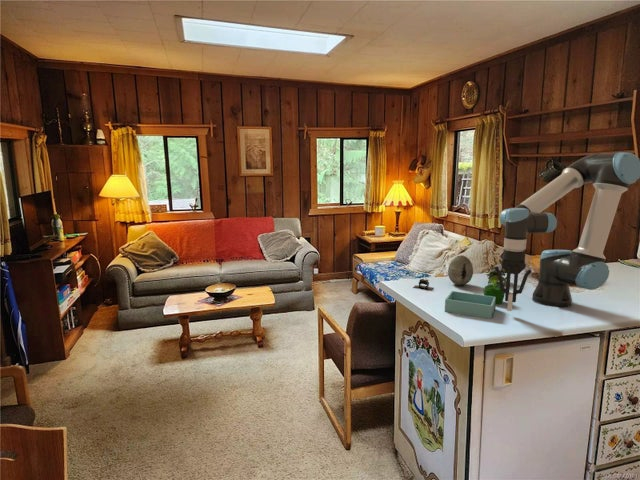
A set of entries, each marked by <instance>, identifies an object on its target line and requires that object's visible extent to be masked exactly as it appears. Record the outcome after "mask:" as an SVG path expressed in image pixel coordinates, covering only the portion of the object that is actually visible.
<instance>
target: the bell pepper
mask: <svg viewBox="0 0 640 480" xmlns="http://www.w3.org/2000/svg"><path fill="white" fill-rule="evenodd" d="M493 282H494V283H493V285H492V283H489V284H487V285H485V286H484V288H483V295H485V296H493V297H496V299H495V305H501V304H503V301H504V300H505V292H503V291H501V290H500V285H498V284H497V282H496V280H494V281H493Z"/></svg>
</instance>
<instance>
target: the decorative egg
mask: <svg viewBox="0 0 640 480" xmlns="http://www.w3.org/2000/svg"><path fill="white" fill-rule="evenodd" d="M447 275H448V278H449V280H450V281H451V282H452V283H453V284H454V285H457V286H465V285H467V284H469V282H471V280H472V278H473V275H474V267H473V263H472V261H471V260H470V259H469V257H468V256H466V255H463V254H462V255H461V254H460V255H457V256H455V257H453V259H452V260H451V262H450V263H449V266H448V268H447Z"/></svg>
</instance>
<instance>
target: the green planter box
mask: <svg viewBox="0 0 640 480" xmlns="http://www.w3.org/2000/svg"><path fill="white" fill-rule="evenodd" d="M495 299H496V297H493V296H485V295H484V294H477V293H471V292H470V293H469V292H464V291H463V292H462V291H454V290H451V291H450V292H449V294H448V295H447V296H446V298H445V302H444V313H445V312H448V313H453V314H459V315H464V316H465V315H466V316H469V317H472V316H473V317H476V318H477V317H478V318H482V319H490V320H491V319H492V318H493V317H494V312H495V310H496V304H495Z"/></svg>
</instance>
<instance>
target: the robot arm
mask: <svg viewBox="0 0 640 480" xmlns="http://www.w3.org/2000/svg"><path fill="white" fill-rule="evenodd" d="M639 179H640V158H639V157H638V156H637V155H636V154H634V153H632V152H622V151H619V152H604V153H600V152H599V153H598V152H597V153H592V154H588V155H586V156H584V157H581V158H580V159H577V160H576V161H575V162H573V163H572V164H570V165H568V166H567V167H565V168H564V169H563V170H562V172H561V174H560V175H559V176H557V177H556V178H554V179H553V180H552V181H550V182H549V183H548V184H546V185H545V186H543V187H542V188H540V189H539V190H538V191H536V192H535V193H533V194H532V195H531V196H529V197H527V198H526V199H525V200H524V201H522V202H521V203H520V204H518V205H516V206H515V207H510V208H505V209H503V210H502V211H501V213H500V215H499V222H500V224H501V225H502V226H504V238H503V248H504V249H503V251H502V252H503V253H502V261H501V263H499V264H495V265H496V266H495V265H494V266H495V270H496V272H497V274H498V280H499V281H498V284H499V285H498V286H500V290H501V291H503V292H505V295H504V301H505V302H507V310H506V311H508V312H512V311H513V304H514V303H516V302H517V295H519V294H522V293H523V291H524V288H525V285H526V282H527V280H528V277H529V276H530V275H531V274H532V271H533V270H532V268H529V267H527V264H526V253H527V252H526V251H525V250H526V249H527V239H528V234H545V233H551V232H553V231H555V229H556V228H557V225H558V220H557V218H556V216H555V214H554V213H550V212H543V211H544V210H546V209H548V208H549V207H550V206H551V205H553V204H554V203H555V202H557V201H558V200H560V199H561V198H562V197H564V196H566V195H567V194H568V193H569V192H571V191H572V190H574V189H578V188H581V187H582V186H583V185H585V184H590V183H592V187H594V189H595V191H594V195H593V196H592V201H591V204H590V206H589V211H588V214H587V216H586V221H585V223H584V225H583V226H584V227H583V230H582V233H581V236H580V239H579V243H578V246H577V247H576V248H575V249H573V250H569V249H546V250H543V251H542V252H541V254H540V259H539V271H538V282H537V285H536V286H535V289H534V291H532V298H531V300H532V301H533V302H535V303H537V304H540V305H544V306H547V307H548V306H549V307H555V308H568V307H571V306H572V305H573V298H572V294H571V290H570V285H572V286H575V287H578V288H579V289H586V290H589V291H591V290H593V291H594V290H597V289H599V288H600V287H602V286H603V285H604V284H605V283H606V282H607V280H608V278H609V276H610V268H609V266H608V264H606V263H605V262H606V259H607V258H606V256H605V255H604V251H605V247H606V244H607V241H608V238H609V235H610V232H611V229H612V225H613V222H614V218H615V215H616V212H617V210H618V206H619V203H620V200H621V197H622V194H623V193H625V192H627V191H628V190H629V187H630V185H632V184H635V183H636V182H637V181H638V180H639ZM502 267H503V269H504V270H505V272H506V273H505V274H506V277H507V279H506V283H505V286H504V281H503V278H502V277H503V276H502V273H501V270H502ZM522 272H524V275H523V277H522V280H521V283H520V285H519V289H518V282H519V274H520V273H522ZM512 275H514V276H513V288H512V292H510V289H511V288H510V285H511V276H512Z"/></svg>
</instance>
